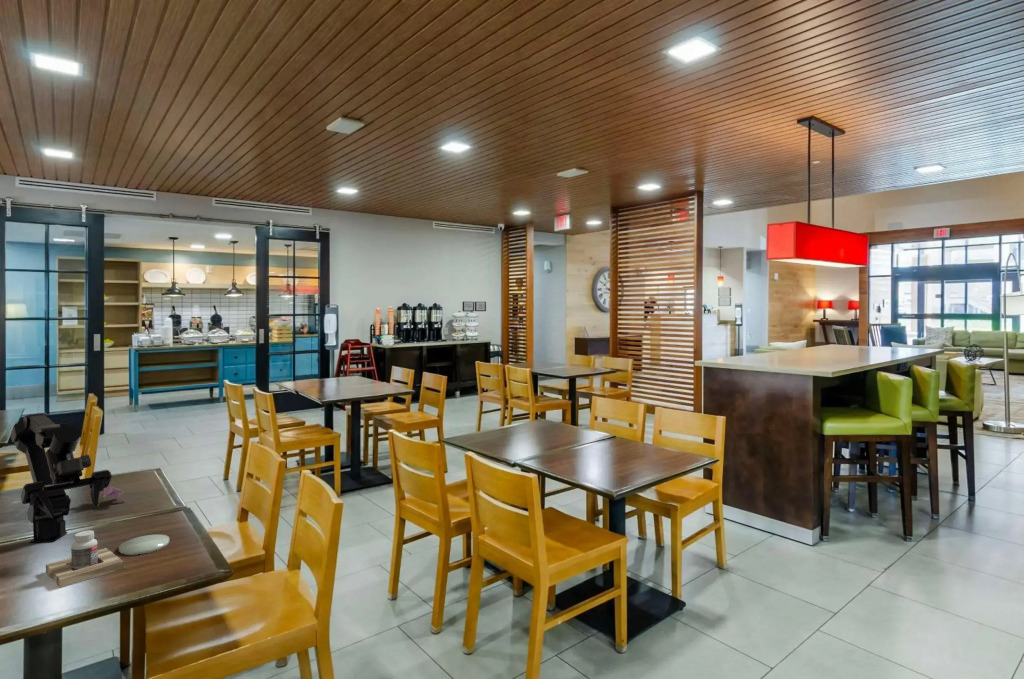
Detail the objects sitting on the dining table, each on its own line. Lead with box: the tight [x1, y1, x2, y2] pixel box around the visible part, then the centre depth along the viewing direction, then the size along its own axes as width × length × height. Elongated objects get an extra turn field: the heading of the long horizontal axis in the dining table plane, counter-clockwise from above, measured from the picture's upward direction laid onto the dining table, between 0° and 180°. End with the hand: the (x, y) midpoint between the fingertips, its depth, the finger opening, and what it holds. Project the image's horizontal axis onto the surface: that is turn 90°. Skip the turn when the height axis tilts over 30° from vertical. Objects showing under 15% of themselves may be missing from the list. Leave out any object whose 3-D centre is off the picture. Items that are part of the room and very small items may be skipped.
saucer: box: [118, 534, 170, 556], centre depth 158 cm, size 12×12×1 cm
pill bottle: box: [70, 530, 99, 571], centre depth 142 cm, size 5×5×10 cm
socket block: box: [45, 547, 124, 589], centre depth 142 cm, size 13×13×2 cm
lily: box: [97, 484, 126, 508], centre depth 192 cm, size 12×12×10 cm
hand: (75, 512), depth 147 cm, fingers open, 9 cm apart
